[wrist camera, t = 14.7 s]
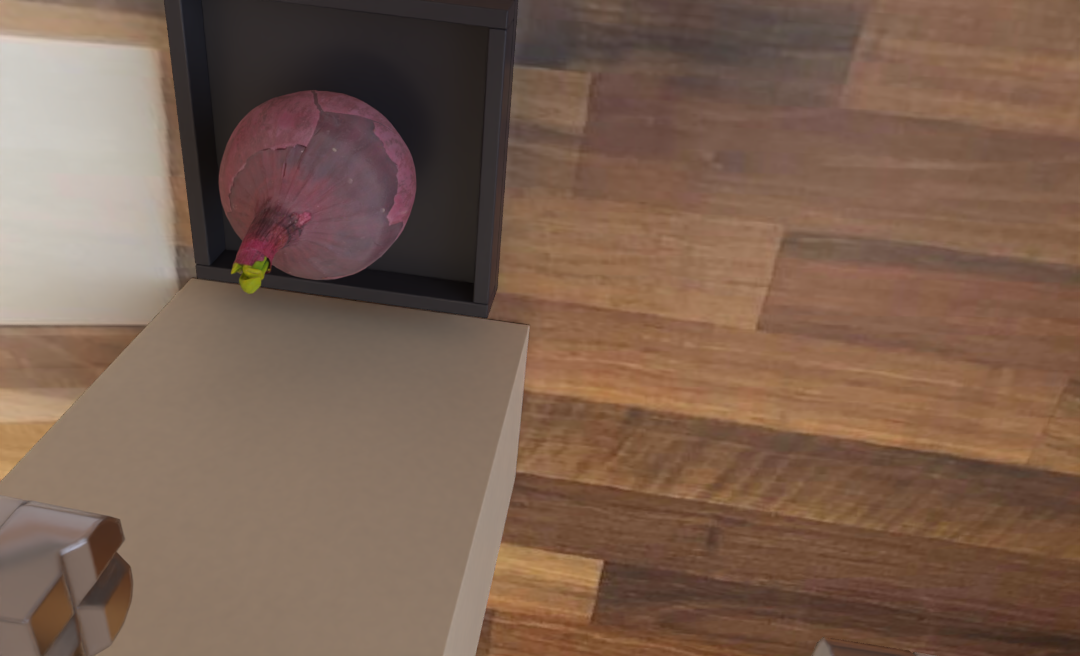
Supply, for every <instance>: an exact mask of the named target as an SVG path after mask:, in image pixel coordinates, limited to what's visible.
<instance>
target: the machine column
mask: <svg viewBox="0 0 1080 656" xmlns="http://www.w3.org/2000/svg"><path fill="white" fill-rule="evenodd" d="M528 337H529V325H523V324H516V323H509V322H502V321H495V320H488V319H480V318H473V317H466V316H459V315H452V314H445V313H437V312H430V311H423V310H416V309H409V308H401V307H394V306H387V305H380V304H373V303H366V302H358V301H351V300H344V299H337V298H330V297H323V296H315V295H308V294H301V293H294V292H287V291H280V290H272V289H265V288H259V289H257V290H256V291H255V292H254V293H253V294H248V293H246V292H244V291H243V289H242V288H241V286H240V285H236V284H229V283H222V282H215V281H208V280H201V279H193V278H191V279H190V280H189V281H188V282H187V284H186V285H185V286H184V287H183V288H182V289H181V290H180V291H179V292H178V293H177V294H176V295H175V296H174V297H173V298H172V299H171V301H170V302H169V303H168V304H167V305H166V306H165V307H164V308H163V309H162V310H161V311H160V312H159V313H158V314H157V315H156V317H155V318H154V319H153V320H152V321H151V322H150V323H149V324H148V325H147V326H146V327H145V328H144V329H143V330H142V331H141V332H140V334H139V335H138V336H137V337H136V338H135V339H134V340H133V341H132V342H131V343H130V344H129V345H128V346H127V347H126V348H125V350H124V351H123V352H122V353H121V354H120V355H119V356H118V357H117V358H116V359H115V360H114V361H113V362H112V363H111V364H110V365H109V367H108V368H107V369H106V370H105V371H104V372H103V373H102V374H101V375H100V376H99V377H98V378H97V379H96V380H95V381H94V383H93V384H92V385H91V386H90V387H89V388H88V389H87V390H86V391H85V392H84V393H83V394H82V395H81V396H80V397H79V398H78V400H77V401H76V402H75V403H74V404H73V405H72V406H71V407H70V408H69V409H68V410H67V411H66V412H65V413H64V414H63V416H62V417H61V418H60V419H59V420H58V421H57V422H56V423H55V424H54V425H53V426H52V427H51V428H50V429H49V430H48V431H47V433H46V434H45V435H44V436H43V437H42V438H41V439H40V440H39V441H38V442H37V443H36V444H35V445H34V446H33V447H32V449H31V450H30V451H29V452H28V453H27V454H26V455H25V456H24V457H23V458H22V459H21V460H20V461H19V462H18V463H17V464H16V466H15V467H14V468H13V469H12V470H11V471H10V472H9V473H8V474H7V475H6V476H5V477H4V478H3V479H2V480H1V482H0V495H3V496H8V497H13V498H19V499H24V500H29V501H36V502H41V503H46V504H51V505H56V506H61V507H66V508H71V509H76V510H81V511H86V512H91V513H96V514H101V515H106V516H111V517H114V518H118V519H120V521H121V525H122V529H123V533H124V537H125V541H124V542H123V544H122V545H121V547H120V548H119V549H118V551H117V553H118V554H119V555H120V556H121V557H122V558H123V559H124V560H125V561H126V562H127V563H128V564H129V565H130V566H131V570H132V576H133V596H132V602H131V605H130V608H129V611H128V614H127V617H126V620H125V623H124V625H123V627H122V629H121V630H120V632H119V634H118V635H117V637H116V639H115V640H114V642H113V643H112V645H111V646H110V647H108V648H106V649H105V650H103V651H101V652H100V653H98V654H96V655H95V656H475V654H476V650H477V646H478V641H479V637H480V632H481V628H482V623H483V619H484V614H485V610H486V605H487V601H488V596H489V592H490V588H491V583H492V579H493V574H494V570H495V565H496V561H497V556H498V552H499V547H500V543H501V538H502V534H503V530H504V525H505V521H506V516H507V512H508V507H509V503H510V498H511V494H512V489H513V485H514V480H515V474H516V463H517V453H518V442H519V432H520V421H521V411H522V400H523V390H524V379H525V369H526V358H527V348H528Z"/></svg>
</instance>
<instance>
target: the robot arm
mask: <svg viewBox="0 0 1080 656" xmlns="http://www.w3.org/2000/svg"><path fill="white" fill-rule="evenodd" d="M124 541H125V537H124V533H123V529H122V525H121V521H120V519H118V518H114V517H111V516H106V515H101V514H96V513H91V512H86V511H81V510H76V509H71V508H66V507H61V506H56V505H51V504H46V503H41V502H36V501H29V500H24V499H19V498H13V497H8V496H3V495H0V656H95V655H96V654H98V653H100V652H101V651H103V650H105V649H106V648H108V647H110V646H111V645H112V643H113V642H114V640H115V639H116V637H117V635H118V634H119V632H120V630H121V629H122V627H123V625H124V623H125V620H126V617H127V614H128V611H129V608H130V605H131V602H132V596H133V576H132V570H131V566H130V565H129V564H128V563H127V562H126V561H125V560H124V559H123V558H122V557H121V556H120V555H119V554H118V553H117V551H118V549H119V548H120V547H121V545H122V544H123V542H124ZM812 656H935V655H929V654H923V653H917V652H913V653H912V652H910V651H909V650H903V649H896V648H890V647H884V646H877V645H871V644H865V643H858V642H852V641H846V640H839V639H833V638H827V637H822V638H821V639H820V640H819V641H818V642H817V644H816V646H815V649H814V651H813V653H812Z"/></svg>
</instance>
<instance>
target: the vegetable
mask: <svg viewBox="0 0 1080 656" xmlns="http://www.w3.org/2000/svg"><path fill="white" fill-rule="evenodd" d="M219 192H220V197H221V202H222V205H223V208H224V211H225V214H226V216H227V218H228V220H229V222H230V224H231V226H232V227H233V229H234V231H235V232H236V234H237V235H238V236H239V237H240V239H241V240H242V243H241V246H240V248H239V250H238V253H237V255H236V259H235V261H234V263H233V268H232V270H231V274H233V273H236V272H237V273H239V274H242V275H241V276H240V278H239V283H240V286H241V288H242V289H243V291H244V292H246V293H248V294H253V293H254V292H255V291H256V290H257V289H259V287H260V286H261V280H262V279H264V276H265V275H264V274H267V273H270V272H271V266H272V265H273V266H275V267H276V268H278V269H280V270H282V271H284V272H286V273H287V274H290V275H292V276H295V277H300V278H305V279H313V280H331V279H338V278H342V277H345V276H349V275H353V274H356V273H358V272H360V271H361V270H363V269H365V268H366V267H368V266H369V265H371V264H372V263H374V262H375V261H376V260H377V259H378V258H380V257H382V255H383V254H384V253H385V252H386V251H387V250H388V249H389V248H390V247H391V245H392V244H393V243H394V242H395V241H396V239H397V238H398V237H399V235H400V234H401V233H402V231H403V229H404V227H405V225H406V222H407V220H408V218H409V216H410V213H411V210H412V206H413V203H414V200H415V194H416V172H415V166H414V162H413V158H412V156H411V153H410V151H409V149H408V147H407V145H406V144H405V142H404V141H403V139H402V138H401V136H400V135H399V133H398V132H397V131H396V129H395V128H394V127H393V125H392V124H391V123H390V122H389V121H388V120H387V119H386V117H385V116H383V115H382V114H381V113H380V112H379V111H377V110H376V109H374V108H373V107H371V106H370V105H368V104H367V103H365V102H363V101H361V100H359V99H357V98H355V97H352V96H349V95H346V94H343V93H336V92H329V91H317V90H309V91H299V92H296V93H292V94H287V95H283V96H279V97H275V98H273V99H270V100H268V101H266V102H264V103H262V104H261V105H259V106H257V107H255V108H254V109H253V110H251V111H250V112H249V113H248V114H247V115H246V116H245V117H244V118H243V119H242V120H241V121H240V122H239V124H238V125H237V127H236V128H235V129H234V131H233V133H232V135H231V137H230V139H229V141H228V143H227V145H226V148H225V151H224V154H223V158H222V161H221V165H220V172H219Z"/></svg>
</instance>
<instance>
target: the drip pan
mask: <svg viewBox="0 0 1080 656" xmlns="http://www.w3.org/2000/svg"><path fill="white" fill-rule="evenodd" d="M164 5H165V13H166V21H167V30H168V38H169V47H170V55H171V63H172V72H173V80H174V88H175V97H176V105H177V114H178V122H179V130H180V139H181V147H182V156H183V164H184V172H185V181H186V189H187V198H188V206H189V214H190V223H191V231H192V239H193V248H194V256H195V263H196V273H197V278H201V279H209V280H216V281H223V282H230V283H237V284H240V283H239V278H240V276H241V275H242V274H239V273H237V272H236V273H233V274H231V270H232V268H233V263H234V261H235V259H236V255H237V253H238V250H239V248H240V246H241V243H242V240H241V239H240V237H239V236H238V235H237V234H236V232H235V231H234V229H233V227H232V226H231V224H230V222H229V220H228V218H227V216H226V214H225V211H224V208H223V205H222V202H221V197H220V192H219V172H220V165H221V161H222V158H223V154H224V151H225V148H226V145H227V143H228V141H229V139H230V137H231V135H232V133H233V131H234V129H235V128H236V127H237V125H238V124H239V122H240V121H241V120H242V119H243V118H244V117H245V116H246V115H247V114H248V113H249V112H250V111H251V110H253V109H254V108H255V107H257V106H259V105H261V104H262V103H264V102H266V101H268V100H270V99H273V98H275V97H279V96H283V95H287V94H292V93H296V92H299V91H309V90H317V91H329V92H336V93H343V94H346V95H349V96H352V97H355V98H357V99H359V100H361V101H363V102H365V103H367V104H368V105H370V106H371V107H373V108H374V109H376V110H377V111H379V112H380V113H381V114H382V115H383V116H385V117H386V119H387V120H388V121H389V122H390V123H391V124H392V125H393V127H394V128H395V129H396V131H397V132H398V133H399V135H400V136H401V138H402V139H403V141H404V142H405V144H406V145H407V147H408V149H409V151H410V153H411V156H412V158H413V162H414V166H415V172H416V194H415V200H414V203H413V206H412V210H411V213H410V216H409V218H408V220H407V222H406V225H405V227H404V229H403V231H402V233H401V234H400V235H399V237H398V238H397V239H396V241H395V242H394V243H393V244H392V245H391V247H390V248H389V249H388V250H387V251H386V252H385V253H384V254H383V255H382V257H380V258H378V259H377V260H376V261H375V262H374V263H372V264H371V265H369V266H368V267H366V268H365V269H363V270H361V271H360V272H358V273H356V274H353V275H349V276H345V277H342V278H338V279H331V280H313V279H305V278H300V277H295V276H292V275H290V274H287V273H286V272H284V271H282V270H280V269H278V268H276V267H275V266H273V265H272V266H271V272H270V273H267V274H264V275H265V276H264V279H262V280H261V286H260V287H266V288H273V289H280V290H288V291H295V292H302V293H309V294H316V295H323V296H331V297H338V298H345V299H352V300H359V301H366V302H374V303H381V304H388V305H395V306H402V307H410V308H417V309H424V310H431V311H438V312H445V313H453V314H460V315H467V316H474V317H481V318H487V317H488V315H489V312H490V309H491V306H492V303H493V300H494V297H495V294H496V291H497V286H498V272H499V259H500V245H501V231H502V217H503V203H504V190H505V176H506V162H507V148H508V134H509V120H510V107H511V93H512V79H513V65H514V51H515V38H516V24H517V10H518V0H164Z"/></svg>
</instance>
